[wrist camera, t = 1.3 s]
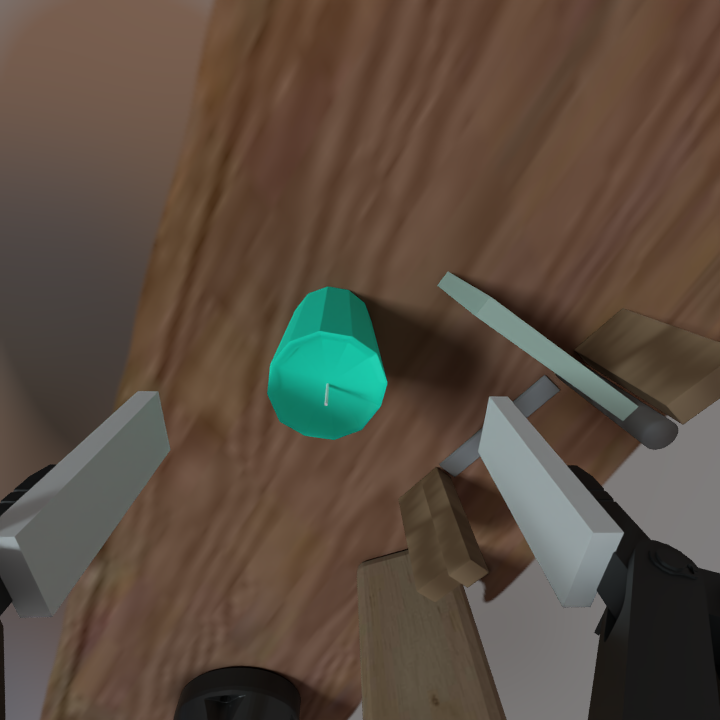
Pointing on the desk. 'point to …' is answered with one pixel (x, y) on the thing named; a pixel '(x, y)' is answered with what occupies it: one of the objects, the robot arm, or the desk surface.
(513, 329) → the sage green plank
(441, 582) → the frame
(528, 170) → the desk surface
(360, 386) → the candle
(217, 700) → the robot arm
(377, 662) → the wooden block
